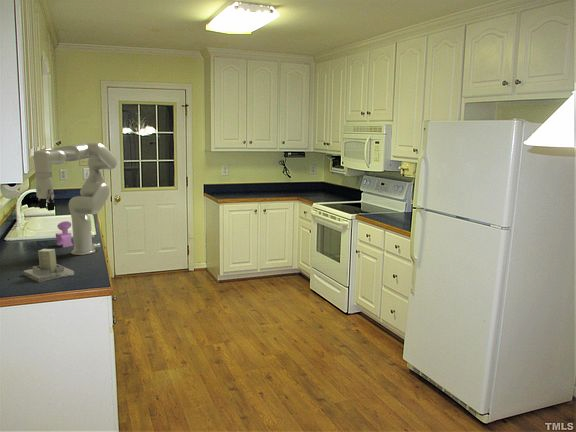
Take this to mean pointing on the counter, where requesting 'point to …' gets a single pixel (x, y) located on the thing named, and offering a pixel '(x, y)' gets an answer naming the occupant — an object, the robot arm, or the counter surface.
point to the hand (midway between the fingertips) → (46, 209)
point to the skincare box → (47, 259)
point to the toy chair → (64, 234)
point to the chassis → (47, 273)
